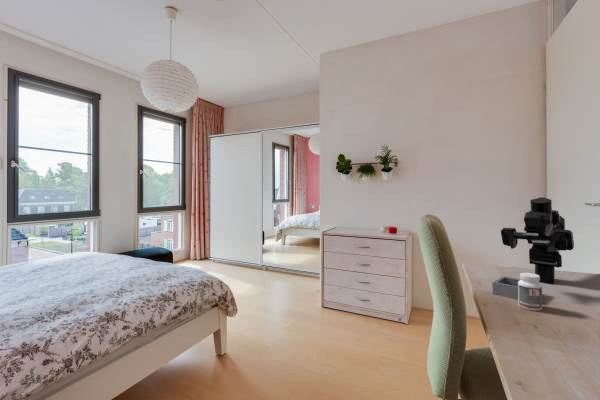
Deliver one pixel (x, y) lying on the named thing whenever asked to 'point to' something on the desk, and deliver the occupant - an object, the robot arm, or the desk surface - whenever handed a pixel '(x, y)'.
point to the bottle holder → (506, 287)
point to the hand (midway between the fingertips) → (528, 248)
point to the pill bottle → (530, 291)
